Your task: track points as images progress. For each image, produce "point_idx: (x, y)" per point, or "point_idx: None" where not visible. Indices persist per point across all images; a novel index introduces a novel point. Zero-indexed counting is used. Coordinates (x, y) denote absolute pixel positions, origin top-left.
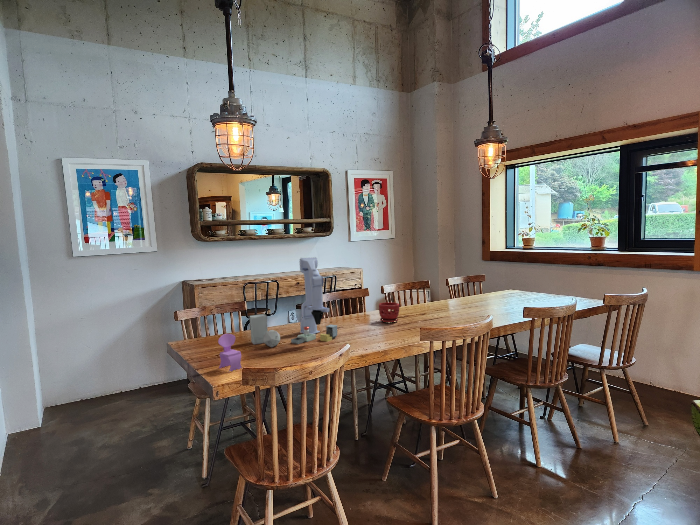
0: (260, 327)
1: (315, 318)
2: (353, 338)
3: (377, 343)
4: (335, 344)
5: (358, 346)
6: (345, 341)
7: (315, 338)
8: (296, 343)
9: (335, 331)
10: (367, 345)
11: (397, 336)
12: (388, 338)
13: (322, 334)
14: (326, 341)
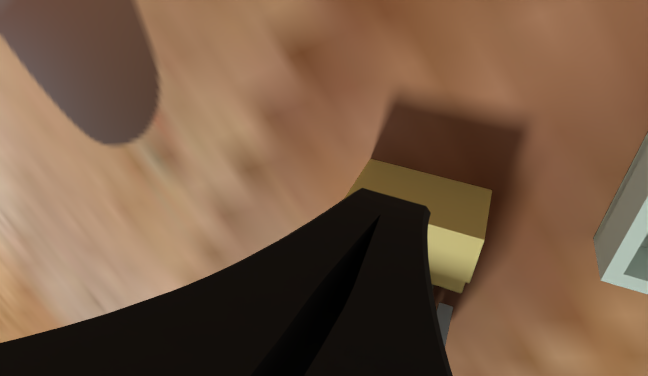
0: None
1: (347, 304)
2: None
3: (6, 212)
4: (220, 81)
5: (24, 92)
6: (212, 213)
7: (597, 237)
8: None
9: None
10: (6, 144)
11: None
12: (51, 327)
13: (441, 236)
14: (383, 162)
